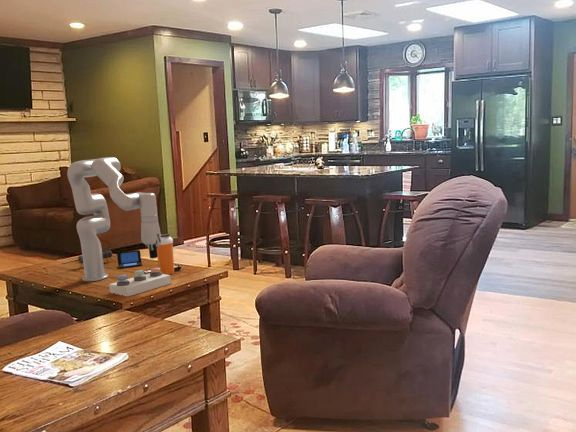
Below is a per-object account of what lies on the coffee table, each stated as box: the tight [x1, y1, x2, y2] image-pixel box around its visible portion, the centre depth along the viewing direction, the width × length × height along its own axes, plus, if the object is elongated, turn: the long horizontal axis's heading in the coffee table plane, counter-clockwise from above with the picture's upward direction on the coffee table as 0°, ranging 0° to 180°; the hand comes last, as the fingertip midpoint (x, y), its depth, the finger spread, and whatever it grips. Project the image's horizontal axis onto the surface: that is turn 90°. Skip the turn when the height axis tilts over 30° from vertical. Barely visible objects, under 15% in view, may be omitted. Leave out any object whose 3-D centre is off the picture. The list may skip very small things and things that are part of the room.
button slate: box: [117, 274, 129, 282], centre depth 274 cm, size 4×4×2 cm
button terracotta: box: [150, 267, 160, 273], centre depth 287 cm, size 4×4×2 cm
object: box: [116, 249, 143, 270], centre depth 332 cm, size 12×11×7 cm
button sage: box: [134, 269, 145, 277], centre depth 280 cm, size 4×4×2 cm
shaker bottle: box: [157, 233, 175, 276], centre depth 305 cm, size 9×9×20 cm
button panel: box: [108, 271, 172, 297], centre depth 281 cm, size 14×24×5 cm, turn 138°
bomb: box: [60, 246, 116, 268], centre depth 339 cm, size 11×10×30 cm
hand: (153, 257), depth 286 cm, fingers closed
